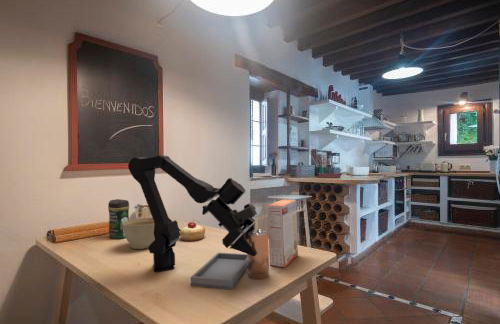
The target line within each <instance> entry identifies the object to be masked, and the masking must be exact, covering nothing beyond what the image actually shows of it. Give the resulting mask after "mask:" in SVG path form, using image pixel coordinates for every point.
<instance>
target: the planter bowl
mask: <svg viewBox="0 0 500 324" xmlns="http://www.w3.org/2000/svg"><path fill="white" fill-rule="evenodd" d="M122 225H123V231H124V235H125V237H126V238H125V239H126V241H127V243H129V244H130V247H131V248H132V249H135V250H143V249H144V250H145V249H148V247H149V246H150V244H151V243H152V242H153V241H154V240H155V238H154V220H153V218H152V217H143V218H134V219H133V218H132V219H129V220H128V221H125V222H123V223H122Z"/></svg>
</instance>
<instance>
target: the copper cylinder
mask: <svg viewBox="0 0 500 324" xmlns="http://www.w3.org/2000/svg"><path fill="white" fill-rule="evenodd" d="M248 243H249V244H250V245H251V247H252V248H253V249H254V251H255V252H256V255H255V256H251V255H249V254H248V267H247V269H248V277H249V278H250V279H251V280H252V279H253V280H259V281H260V280H265V279H268V278H269V277H270V254H269V232H268V231H266V230H262V229H261V228H259V229H255V230H253V231H250V232H249V233H248Z"/></svg>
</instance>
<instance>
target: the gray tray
mask: <svg viewBox="0 0 500 324" xmlns="http://www.w3.org/2000/svg"><path fill="white" fill-rule="evenodd" d="M247 269H248V254H246V253H234V252H233V253H230V252H217V253H215V254H214V255H213V256H212V257H211V258H210V259H209V260H208V261H206V262H205V264H204V265H202V266H201V267H200V268H199V269H197V270H196V272H194V274H192V275H191V276H190V286H191V287H200V288H213V289H222V290H231V291H232V290H233V289H234V288H235V286H236V285H237V283H238V282H239V280H240V279H241V278H242V276H243V275H244V273H245V272H246V270H247Z"/></svg>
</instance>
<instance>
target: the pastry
mask: <svg viewBox="0 0 500 324" xmlns="http://www.w3.org/2000/svg"><path fill="white" fill-rule="evenodd" d="M195 221H197V222H198V223H199V225H198V224H197V223H195ZM180 230H181V231H179V232H180V239H182V240H183V241H185V242H195V241H196V242H197V241H200V240H201V241H202V240H203V239H204V237H205V236H206V235H205V234H206V227H205V226H204V225H200V221H199V219H193V221H191V222H188V223H187V226H184V227H181V228H180Z"/></svg>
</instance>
